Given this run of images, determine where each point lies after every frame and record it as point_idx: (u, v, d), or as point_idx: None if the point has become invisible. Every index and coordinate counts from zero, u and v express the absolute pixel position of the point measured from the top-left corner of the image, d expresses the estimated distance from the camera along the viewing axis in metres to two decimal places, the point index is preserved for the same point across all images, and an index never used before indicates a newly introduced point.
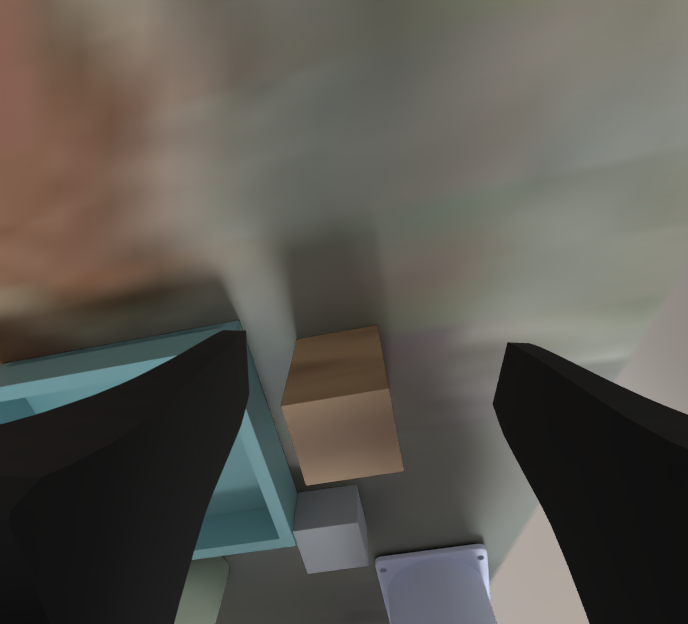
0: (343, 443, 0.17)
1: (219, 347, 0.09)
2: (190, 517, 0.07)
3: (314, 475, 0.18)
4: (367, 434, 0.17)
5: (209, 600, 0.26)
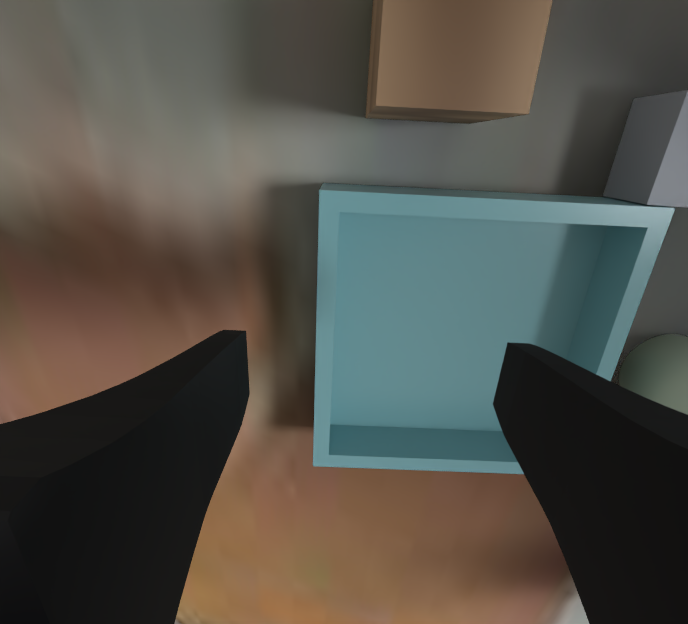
0: (470, 21, 0.11)
1: (219, 347, 0.09)
2: (190, 517, 0.07)
3: (514, 92, 0.11)
4: None
5: None
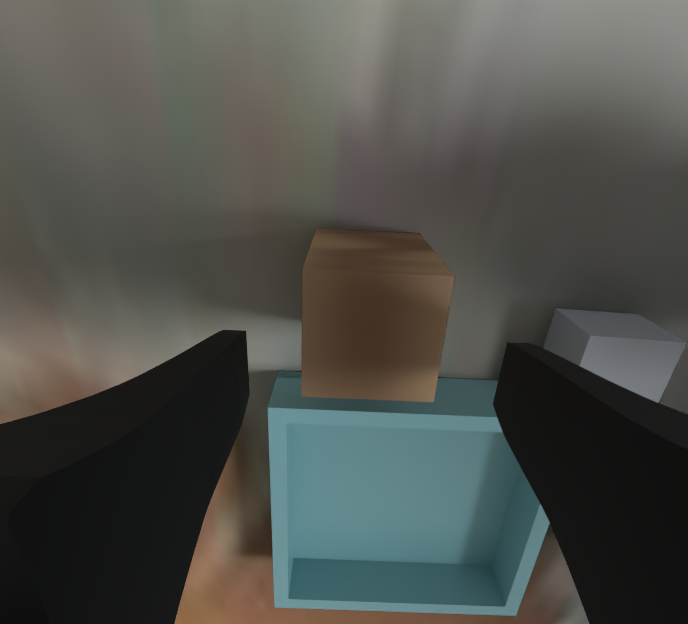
0: (377, 343, 0.12)
1: (219, 347, 0.09)
2: (190, 517, 0.07)
3: (419, 389, 0.13)
4: (372, 311, 0.12)
5: None
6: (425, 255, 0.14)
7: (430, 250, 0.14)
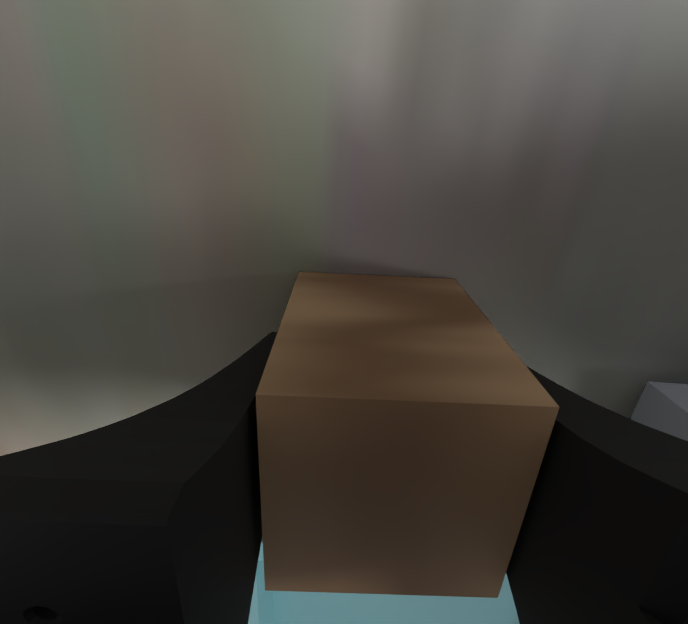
0: (401, 515, 0.07)
1: None
2: (258, 519, 0.07)
3: (474, 581, 0.07)
4: (394, 465, 0.06)
5: None
6: (480, 337, 0.08)
7: (484, 322, 0.09)
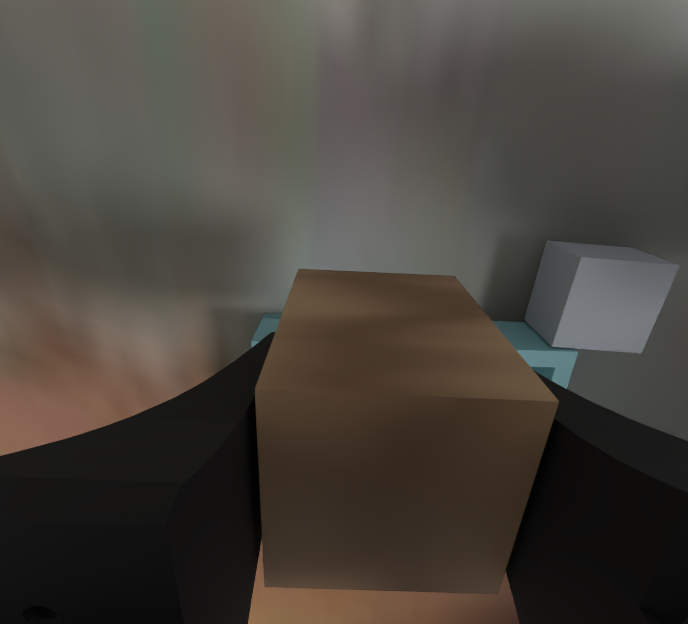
0: (401, 510, 0.07)
1: None
2: (257, 519, 0.07)
3: (474, 577, 0.07)
4: (393, 460, 0.06)
5: None
6: (480, 333, 0.08)
7: (484, 318, 0.09)
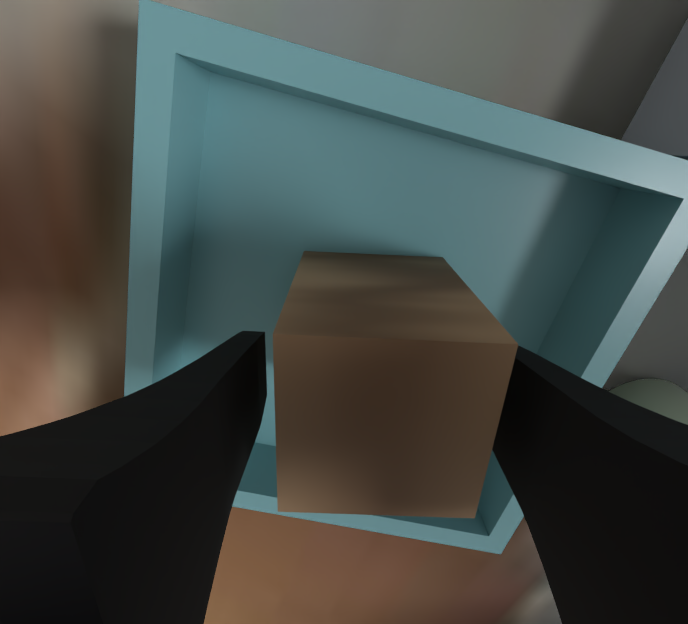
0: (392, 441, 0.08)
1: (242, 348, 0.09)
2: (217, 518, 0.07)
3: (454, 502, 0.09)
4: (385, 396, 0.08)
5: None
6: (460, 298, 0.09)
7: (465, 288, 0.10)
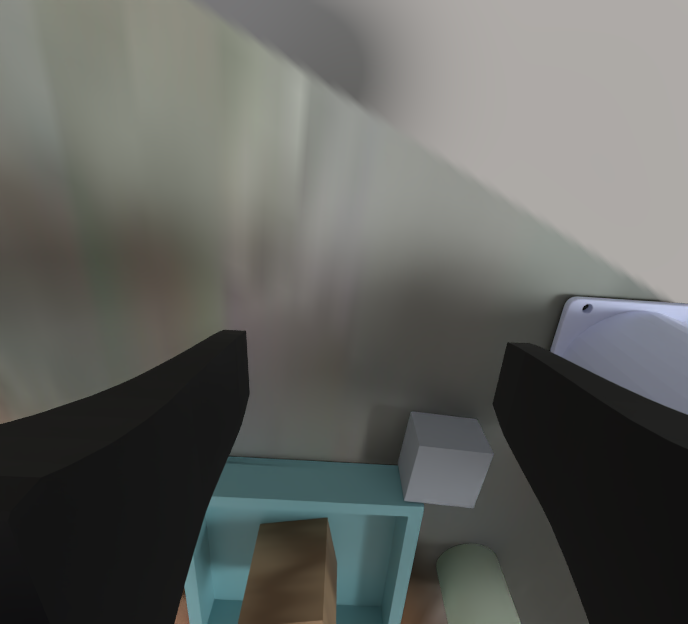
0: None
1: (219, 347, 0.09)
2: (190, 517, 0.07)
3: None
4: None
5: (473, 588, 0.25)
6: (316, 576, 0.22)
7: (323, 562, 0.23)
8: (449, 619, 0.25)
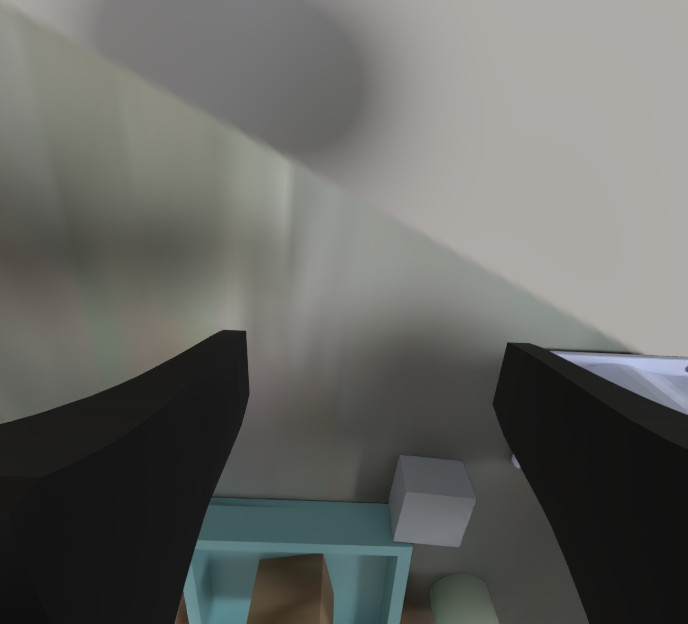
0: None
1: (219, 347, 0.09)
2: (190, 517, 0.07)
3: None
4: None
5: (462, 619, 0.26)
6: (312, 613, 0.23)
7: (318, 599, 0.24)
8: None
